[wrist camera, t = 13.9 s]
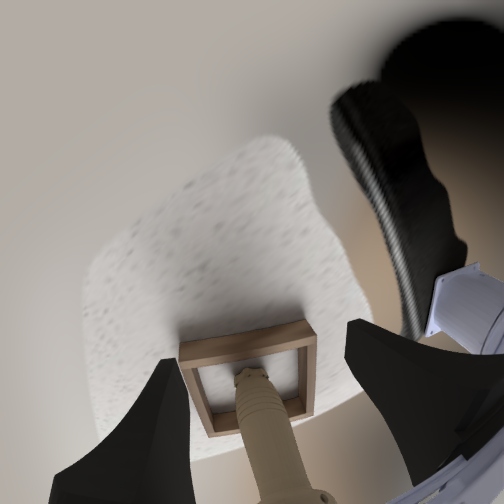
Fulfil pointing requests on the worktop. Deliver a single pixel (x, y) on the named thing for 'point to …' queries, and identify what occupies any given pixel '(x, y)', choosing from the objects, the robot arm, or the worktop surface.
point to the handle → (272, 443)
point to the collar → (247, 348)
